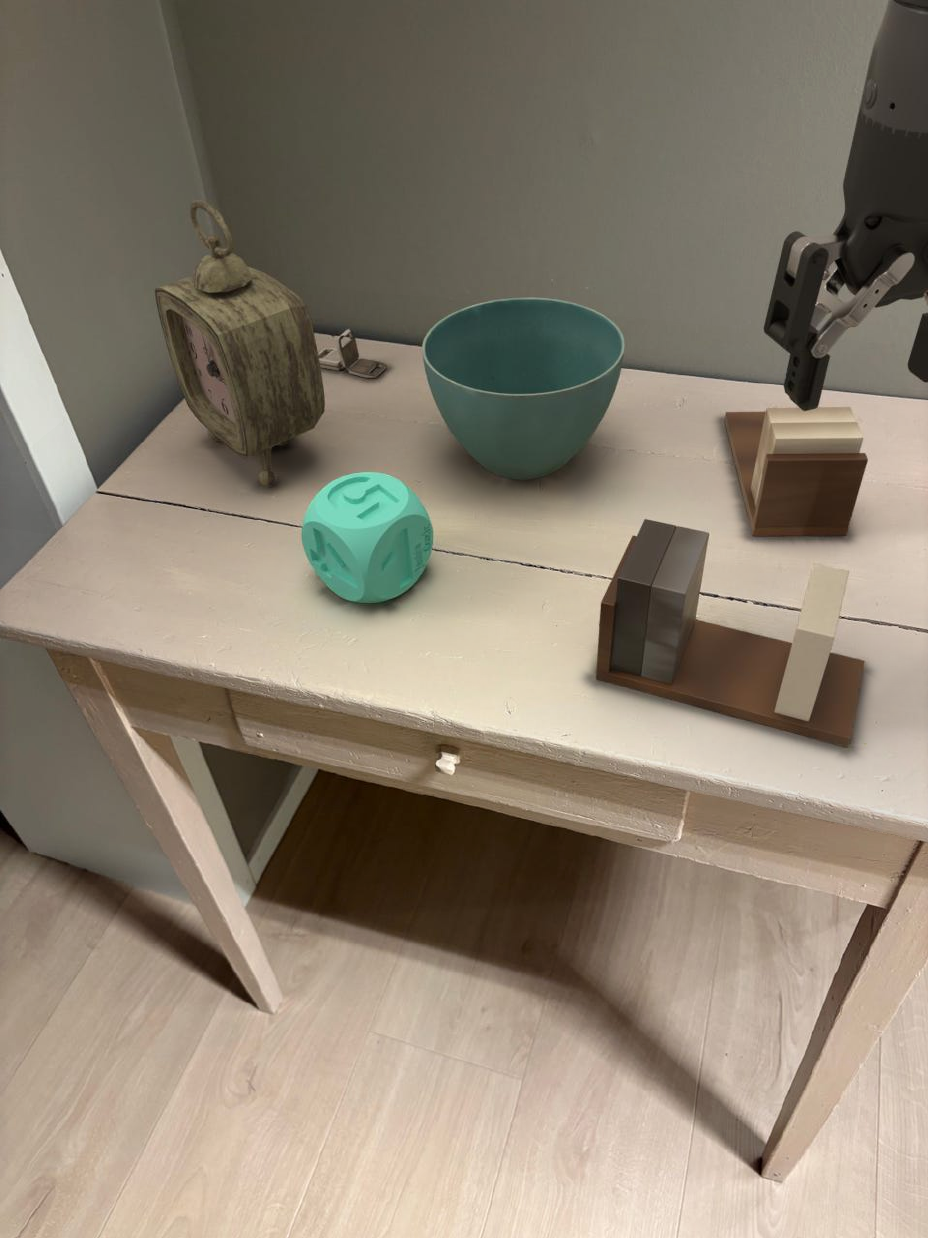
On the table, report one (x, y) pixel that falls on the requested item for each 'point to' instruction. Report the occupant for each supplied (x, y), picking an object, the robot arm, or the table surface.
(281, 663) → the table surface
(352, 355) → the strap clip
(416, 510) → the decorative dice
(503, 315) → the teal bowl
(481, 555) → the table surface
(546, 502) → the table surface
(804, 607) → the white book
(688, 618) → the brown wooden bookend
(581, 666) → the table surface
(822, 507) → the brown wooden book rack
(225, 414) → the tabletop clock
